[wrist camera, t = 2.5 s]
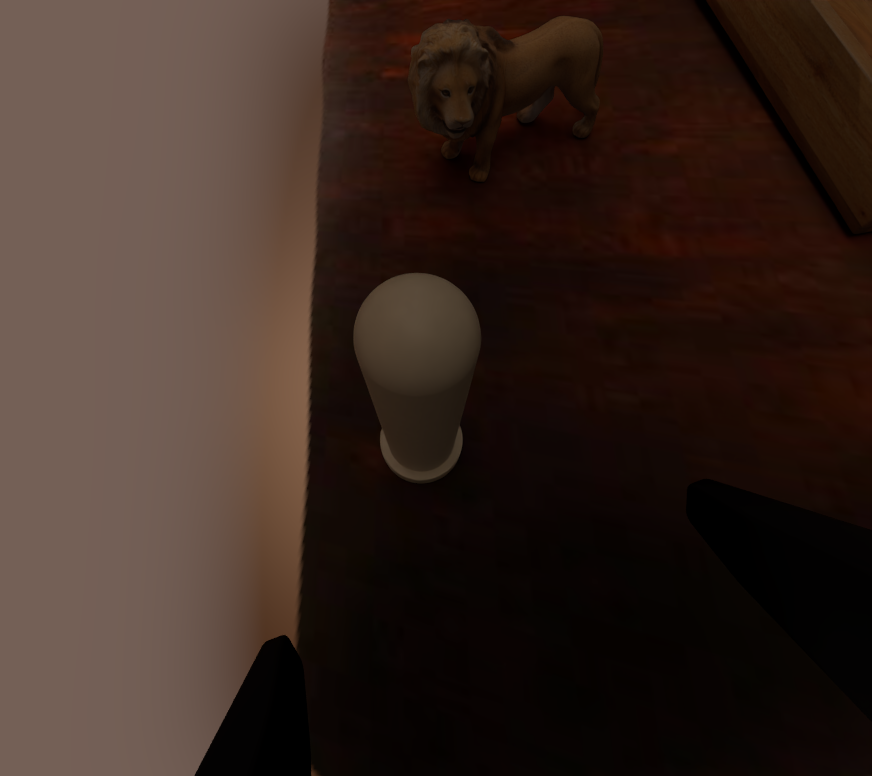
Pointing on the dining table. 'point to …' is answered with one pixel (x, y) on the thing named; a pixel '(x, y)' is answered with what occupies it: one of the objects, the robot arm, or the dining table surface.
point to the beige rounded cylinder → (418, 370)
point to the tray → (815, 85)
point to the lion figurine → (501, 80)
